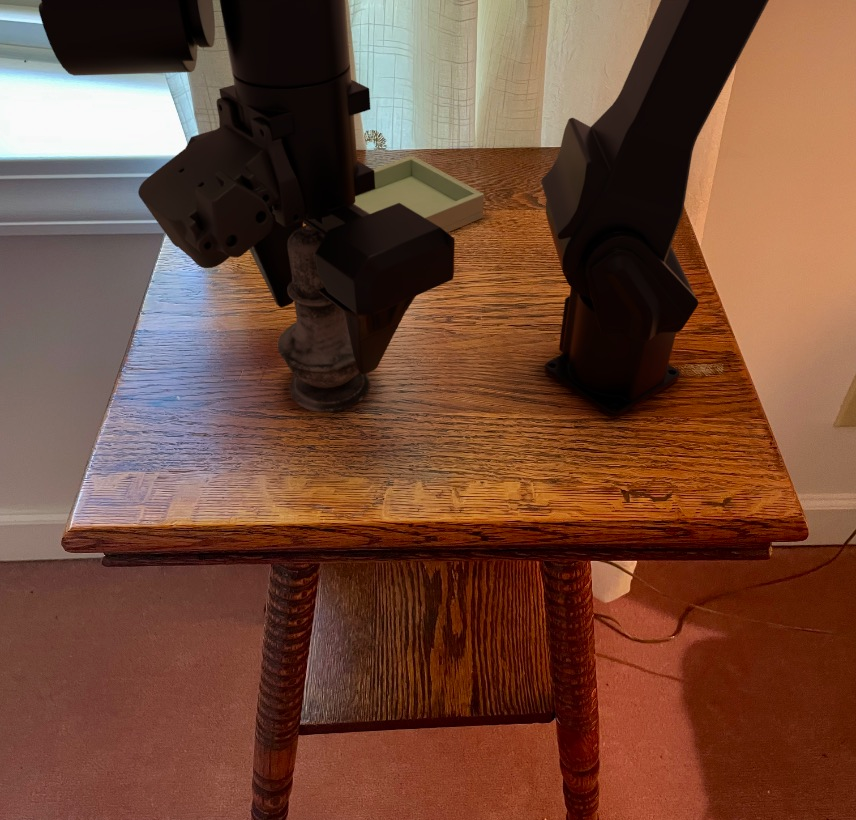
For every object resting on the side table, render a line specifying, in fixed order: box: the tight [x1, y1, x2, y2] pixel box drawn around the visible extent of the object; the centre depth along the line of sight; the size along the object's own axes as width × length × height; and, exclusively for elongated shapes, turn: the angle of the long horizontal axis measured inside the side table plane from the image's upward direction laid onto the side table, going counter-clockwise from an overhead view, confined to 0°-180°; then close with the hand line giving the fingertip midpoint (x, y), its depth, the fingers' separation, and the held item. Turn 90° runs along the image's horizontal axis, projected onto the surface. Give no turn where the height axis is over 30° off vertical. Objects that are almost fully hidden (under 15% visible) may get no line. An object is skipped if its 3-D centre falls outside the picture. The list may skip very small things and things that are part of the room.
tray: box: [354, 155, 485, 234], centre depth 69 cm, size 10×10×2 cm
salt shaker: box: [277, 221, 371, 413], centre depth 50 cm, size 6×6×12 cm
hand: (324, 336), depth 51 cm, fingers open, 9 cm apart
